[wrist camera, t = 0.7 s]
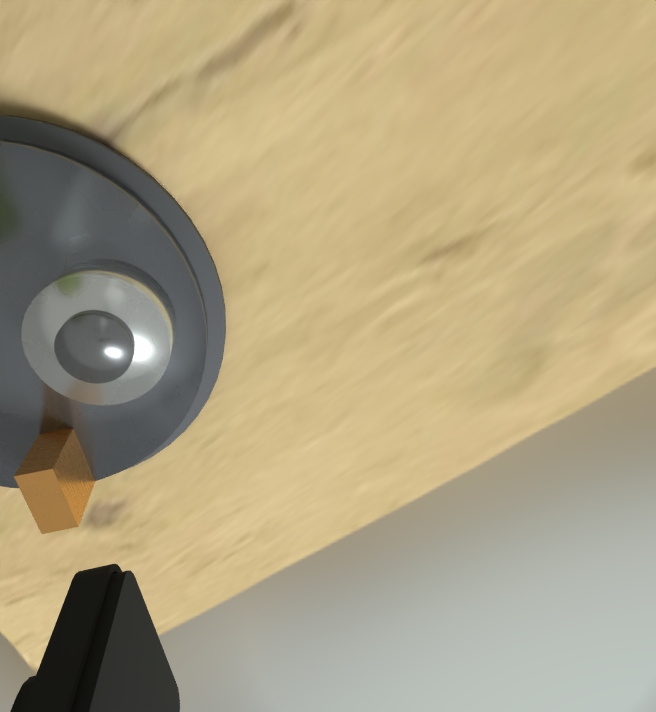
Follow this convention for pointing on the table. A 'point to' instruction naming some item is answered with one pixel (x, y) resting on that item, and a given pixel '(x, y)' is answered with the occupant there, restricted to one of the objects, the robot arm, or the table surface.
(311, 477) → the table surface
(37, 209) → the turntable
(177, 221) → the turntable base
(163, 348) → the cover
